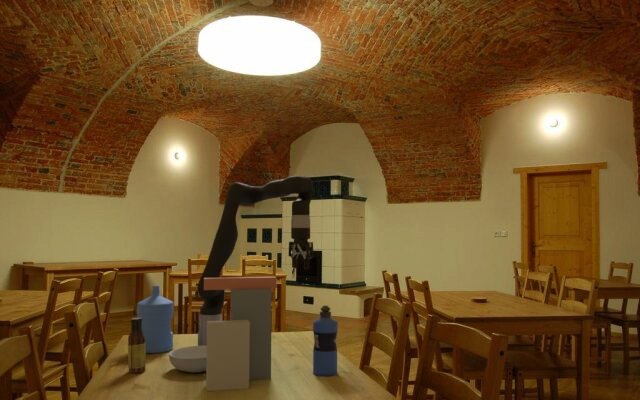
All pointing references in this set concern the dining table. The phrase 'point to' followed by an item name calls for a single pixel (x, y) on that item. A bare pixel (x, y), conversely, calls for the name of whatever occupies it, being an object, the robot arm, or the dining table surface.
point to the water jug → (156, 322)
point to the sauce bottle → (136, 347)
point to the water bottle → (325, 344)
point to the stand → (240, 342)
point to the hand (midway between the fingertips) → (300, 268)
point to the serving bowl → (189, 358)
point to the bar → (239, 283)
